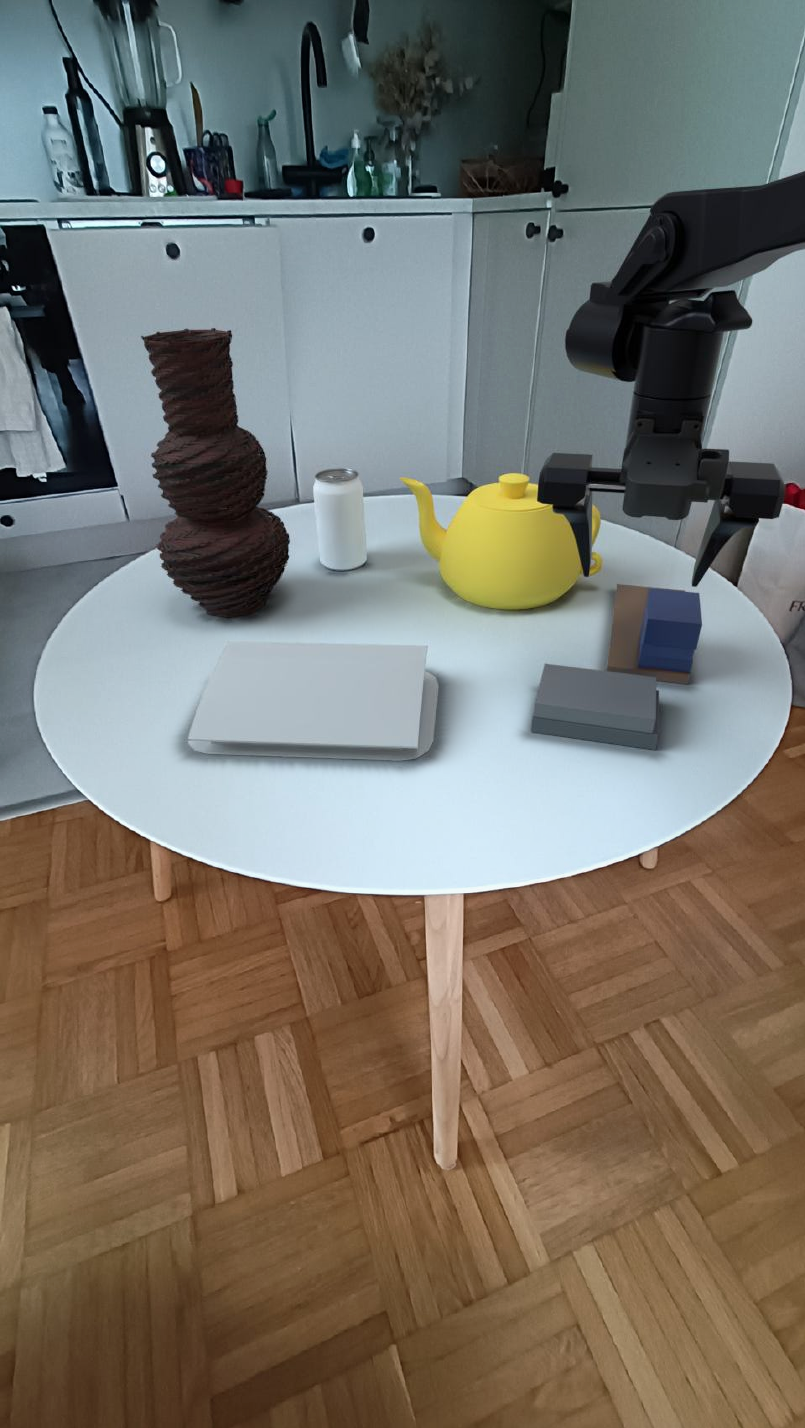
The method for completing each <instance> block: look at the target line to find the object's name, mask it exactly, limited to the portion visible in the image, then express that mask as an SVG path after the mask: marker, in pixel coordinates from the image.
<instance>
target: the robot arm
mask: <svg viewBox="0 0 805 1428" xmlns="http://www.w3.org/2000/svg"><path fill="white" fill-rule="evenodd" d="M802 250H805V170H804V171H801V172H797V173H795V174H791V175H789V176H786V177H782V178H779V179H777V180H773V181H770V182H767V183H765V184H764V183H763V184H761V185H750V186H734V187H718V188H717V187H716V188H703V189H702V188H701V189H692V190H679V191H671V192H667V193H665V194H663V195H662V196H660V197H658V198H657V199H656V201H655V202H654V203H653V204H652V205H651V207H650V209H649V215H648V218H647V220H646V222H645V223H644V225H643V226H642V228H641V230H640V231H639V233H638V235H637V237H636V239H635V240H634V242H633V244H632V246H631V248H630V249H629V251H628V252H627V255H626V257H625V258H624V260H623V261H622V263H621V265H620V267H619V269H618V271H617V273H615V276H614V277H613V278H612V279H611V280H610V281H599V282H597V281H596V282H592V283H591V284H590V289H589V290H590V291H589V299H587V300H586V301H585V302H584V303H582V305H580V307H579V308H578V309H577V310H576V312H575V313H574V315H573V317H572V319H571V321H570V322H569V323H570V324H569V325H568V328H567V330H566V331H565V338H564V340H565V341H564V348H565V352H566V357H567V358H568V360H569V363H570V364H571V365H572V367H573V368H574V369H576V370H577V371H579V372H584V373H588V374H592V375H596V376H600V377H603V378H608V379H611V380H616V381H619V382H620V381H621V382H626V383H632V382H634V384H633V393H632V399H631V405H630V412H629V418H628V419H629V420H628V426H627V433H626V440H625V447H624V449H623V455H622V462H621V468H609V467H592V466H593V458H594V457H593V455H594V454H587V453H585V454H584V453H583V454H582V453H568V452H567V453H566V452H552V453H551V454H550V455H549V456H547V458H546V459H545V461H544V463H543V464H542V467H541V470H540V472H539V477H538V482H537V483H538V484H537V485H538V494H537V502H540V503H542V504H552V505H553V506H552V511H553V512H554V513H557V514H563V515H564V516H565V517H566V519H567V520H568V522H569V524H570V526H571V528H572V531H573V534H574V536H575V540H576V544H577V548H578V552H579V557H580V561H581V565H582V570H583V574H584V575H583V577H584V578H589V577H590V576H589V572H590V566H592V559H591V558H592V552H593V547H592V504H593V492H598V493H611V494H612V493H613V494H614V493H615V494H623V500H622V501H623V502H622V508H621V509H622V512H623V514H625V515H626V516H627V517H629V518H639V519H640V518H643V517H656V518H666V519H667V520H669V521H680V520H684V519H685V518H687V517H688V516H689V514H690V510H691V506H692V503H704V504H707V503H708V502H709V501H714V502H713V504H712V508H711V511H710V514H709V518H708V521H707V524H706V527H705V530H704V532H703V533H704V534H703V537H702V539H701V543H700V546H699V549H698V553H697V554H696V555H697V556H696V559H695V562H694V564H693V565H694V566H693V571H692V576H691V587H694V588H697V587H698V585H699V584H700V582H701V581H702V579H703V578H704V577H705V575H706V573H707V572H708V570H709V569H710V567H711V566H712V564H713V563H714V561H715V559H716V558H717V557H718V555H719V553H720V552H721V551H722V549H723V548H724V547H725V545H726V544H727V543H728V542H729V541H730V540H731V538H732V537H733V536H734V535H735V534H736V533H738V532H739V531H741V530H742V529H744V528H756V527H757V526H758V524H759V522H760V519H762V520H763V519H764V520H774V519H778V518H780V516H781V515H780V514H781V511H782V508H783V505H784V500H785V498H786V490H787V489H786V488H787V487H786V484H785V482H784V479H783V476H782V475H781V472H780V470H779V469H778V467H776V465H775V464H774V463H769V462H750V461H749V462H748V461H747V462H746V461H731V460H730V449H728V448H727V449H726V448H723V449H722V448H703V439H704V438H703V437H704V434H705V433H704V432H705V428H706V423H707V419H708V418H707V417H708V414H709V408H710V403H711V398H712V394H713V389H714V384H715V378H716V374H717V369H718V364H719V359H720V356H721V355H720V354H721V350H722V344H723V340H724V335H725V333H727V332H736V331H744V330H748V329H750V328H751V327H752V326H753V322H754V321H753V318H752V316H751V315H750V313H749V311H748V310H747V309H746V308H745V307H744V306H743V305H742V304H741V302H740V300H739V298H738V296H737V291H735V290H734V289H729V290H720V291H719V290H717V291H712V290H713V289H715V288H724V287H729V286H732V285H735V284H736V283H739V282H741V281H743V280H746V279H747V278H750V277H752V276H754V275H756V274H759V273H761V272H763V271H765V270H767V269H769V267H771V266H772V265H773V264H774V263H775V262H777V261H778V260H780V259H782V258H784V257H787V256H789V255H790V254H793V253H795V252H797V251H798V252H799V251H802ZM709 292H710V293H709ZM708 293H709V294H708ZM707 294H708V295H707ZM706 295H707V296H706ZM704 296H706V298H704V300H700V299H702V298H703V297H704ZM698 299H699V300H698Z"/></svg>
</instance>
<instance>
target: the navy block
mask: <svg viewBox="0 0 805 1428" xmlns="http://www.w3.org/2000/svg"><path fill="white" fill-rule="evenodd" d="M702 627H703V619H702V607H701V596H700V592H692V591H685V592H684V591H673V590H662V589H652V588H649V590H648V595H647V600H646V606H645V611H644V631H643V643H644V644H653V645H662V646H671V647H680V648H689V649H694V650H697V648H698V643H699V639H700V635H701V631H702Z"/></svg>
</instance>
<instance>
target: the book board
mask: <svg viewBox="0 0 805 1428" xmlns="http://www.w3.org/2000/svg"><path fill="white" fill-rule="evenodd" d="M649 588H652V589H662V590H673V591H684V592H686V590H683V589H675V588H674V589H673V588H662V587H651V586H641V585H629V584H618V583H617V584H616V588H615V595H614V603H613V604H614V605H613V614H612V619H611V620H612V621H611V628H610V635H609V636H610V637H609V645H608V654H607V662H606V670H605V671H609V672H618V673H626V674H634V675H642V676H650V677H656V682H657V681H659V682H667V683H673V684H674V683H675V684H682V685H689V682H690V678H691V672H690V673H683V672H674V671H666V670H658V669H650V668H641V667H638V656H639V638H640V630H641V625H642V620H643V615H644V611H645V606H646V600H647V595H648V590H649Z"/></svg>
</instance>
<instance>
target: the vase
mask: <svg viewBox="0 0 805 1428" xmlns="http://www.w3.org/2000/svg"><path fill="white" fill-rule="evenodd" d="M140 339H141V340H142V341H143V346H144V348H145V350H146V351H147V353H148V360H149V362H150V364H151V365H152V366H153V368H152V370H151V371H150V373H151V375H152V376H153V377H154V378H155V380H154V382H155V385H156V387H157V388H158V389H159V390H160V391H159V393H158V395H157V396H158V399H159V400H160V401H161V409H162V411H163V413H164V415H162V418H163V421H164V422H165V423H166V424H167V425H168V426H167V432H166V433H165V435H164V438H163V439H162V440H159V441H158V442H157V443H156V447H157V449H156V450H155V451H154V452H152V453H151V454H150V458H153V460H154V461H153V462H151V467H152V468H153V469H155V470H156V471H155V473H152V478H153V479H155V480H157V481H158V482H159V484H158V485H157V487H158V488H159V489H160V490H161V491H162V493H161V494H160V496H161V498H162V499H164V500H166V501H168V502H169V504H168V503H167V506H168V507H169V508H170V509H172V510H174V511H175V512H174V515H175V516H177V517H176V518H175V519H173V520H171V521H168V522H167V523H165V524H164V529H165V531H164V532H161V533H160V534H159V539H160V542H158V544H156V549H157V550H158V551H159V552H160V553H159V559H160V560H161V561H162V562H161V563H160V564H161V565H160V567H161V568H162V569H163V570H164V571H166V576H167V577H168V578H170V579H171V580H172V584H173V586H174V587H176V588H179V589H180V591H181V592H182V593H183V594H185V595H189V596H190V597H189V598H190V599H191V600H192V601H194V602H198V606H200V607H201V608H203V609H204V611H205V613H206V615H210V616H216V617H222V618H226V619H229V618H232V617H239V616H244V615H245V616H246V615H251V614H253V612H256V611H257V610H259V609H260V608H262V607H263V606H266V605H267V600H268V597H269V596H270V594H271V593H272V591H273V590H274V587H276V585H277V584H278V582H279V581H280V579H282V577H283V575H284V574H283V573H284V572H285V570H286V566H287V565H288V561H289V559H290V555H289V552H290V544H291V538H290V534H289V532H287V528H286V527H285V523H284V521H283V520H282V518H281V517H280V516H278V515H276V514H275V513H274V512H273V511H271V510H267V509H266V508H263V507H258V506H259V504H260V503H261V502H262V500H263V499H264V497H265V492H266V483H267V481H266V480H267V479H268V469H267V457H266V453H265V451H264V448H263V447H262V445H261V444H260V441H259V440H258V439H257V436H255V435H254V434H252V432H250V431H248V429H245V428H242V427H240V426H239V425H238V424H239V415H238V405H237V398H236V394H235V393H234V388H235V386H234V379H233V377H234V376H233V367H234V362H233V358H232V357H231V353H230V352H231V346H230V344H231V343H232V339H233V334H232V330H231V329H228V330H227V331H226V330H221V329H220V330H219V329H216V328H215V327H212V328H210V329H189V328H183V329H182V330H172V331H163V332H160V331H156V332H155V333H153V334H150V335H146V336H144V335H141V336H140Z"/></svg>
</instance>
